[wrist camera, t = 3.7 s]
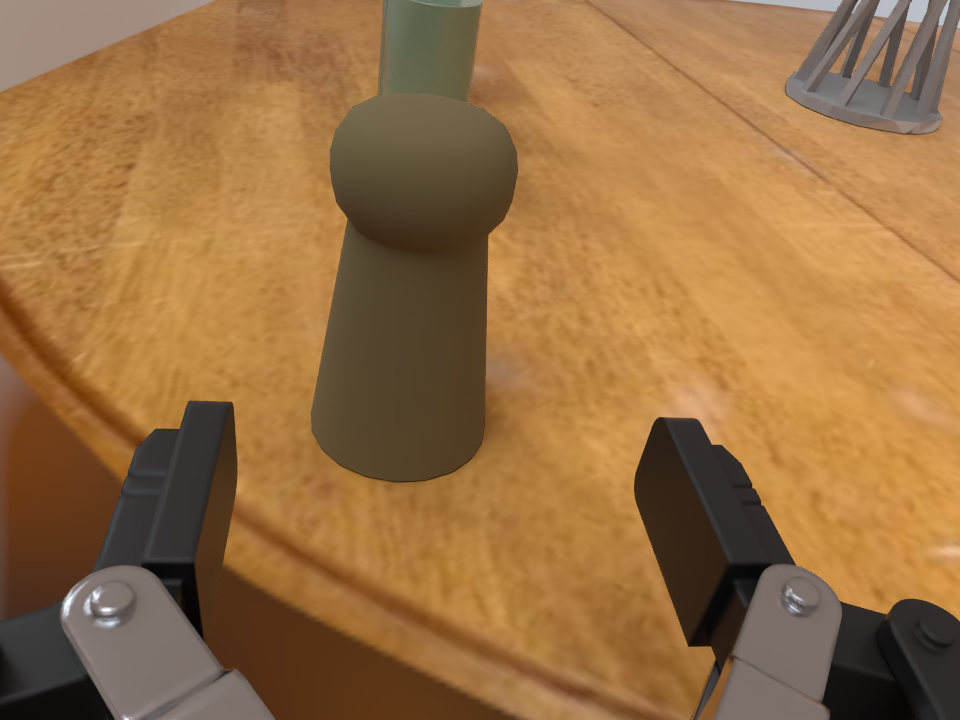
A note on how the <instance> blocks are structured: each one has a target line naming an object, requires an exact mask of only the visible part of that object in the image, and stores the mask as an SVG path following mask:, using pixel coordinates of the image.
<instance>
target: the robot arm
mask: <svg viewBox="0 0 960 720" xmlns="http://www.w3.org/2000/svg"><path fill="white" fill-rule="evenodd" d="M236 485H237V451H236V436H235V420H234V407H233V403H232V402H218V401H189V402H188V404H187V406H186V409H185V413H184V416H183V420H182V423H181V426H180V429H155V430H154V431H153V432H152V433H151V434H150V435H149V436H148V437H147V438H146V439H145V440H144V441H143V442H142V443H141V444H140V445H139V446H138V447H137V448H136V450H135V453H134V456H133V459H132V461H131V464H130V467H129V470H128V476H127V477H126V479H125V481H124V484H123V487H122V490H121V496H119V499H118V501H117V505H116V507H115V510H114V513H113V516H112V519H111V522H110V524H109V527H108V530H107V533H106V536H105V539H104V541H103V544H102V547H101V550H100V553H99V556H98V559H97V561H96V564H95V567H94V569H93V571H92V573H91V574H90V575H89V576H87V577H85V578H84V579H83V580H81V581H80V582H79V583H77V584H76V585H75V586H74V587H73V588H72V589H71V591H70V592H69V593H68V595H67V596H66V598H65V599H63V600H61V601H60V602H58V603H56V604H54V605H51V606H49V607H47V608H44V609H41V610H38V611H35V612H31V613H27V614H24V615H20V616H16V617H12V618H9V619H5V620H1V621H0V720H275V718H274V717H273V716H272V714H271V713H270V711H269V710H268V709H267V707H266V706H265V705H264V703H263V702H262V700H261V699H260V698H259V696H258V695H257V694H256V693H255V691H254V689H253V688H252V687H251V685H250V684H249V683H248V682H247V680H246V679H245V677H244V676H243V675H242V674H241V673H240V672H239V671H238V670H236V669H235V668H233V667H230V668H228V669H225V668H223V667H222V666H221V665H220V663H219V662H218V661H217V659H216V658H215V657H214V655H213V654H212V652H211V651H210V650H209V648H208V647H207V642H208V637H209V632H210V627H211V622H212V616H213V611H214V606H215V601H216V595H217V590H218V585H219V580H220V574H221V569H222V564H223V558H224V553H225V548H226V543H227V537H228V532H229V527H230V521H231V516H232V511H233V506H234V500H235V494H236ZM634 493H635V500H636V504H637V507H638V509H639V512H640V515H641V518H642V520H643V523H644V526H645V529H646V531H647V534H648V537H649V540H650V542H651V545H652V548H653V551H654V553H655V556H656V559H657V562H658V564H659V567H660V570H661V572H662V575H663V578H664V581H665V583H666V586H667V589H668V592H669V594H670V597H671V600H672V603H673V605H674V608H675V611H676V614H677V616H678V619H679V622H680V625H681V627H682V630H683V633H684V636H685V638H686V641H687V644H688V647H699V646H711V647H712V650H713V652H714V655H715V657H716V658H715V660H714V662H713V664H712V666H711V667H710V670H709V672H708V675H707V678H706V680H705V683H704V685H703V688H702V691H701V693H700V696H699V698H698V701H697V703H696V706H695V709H694V711H693V714H692V716H691V719H690V720H960V621H959V620H958V619H956V618H955V617H954V616H953V615H951V614H950V613H949V612H947V611H946V610H944V609H942V608H941V607H939V606H937V605H934V604H932V603H929V602H927V601H923V600H918V599H905V600H901V601H899V602H897V603H896V604H895V605H894V606H893V607H892V609H891V610H890V611H889V613H888V614H887V615H886V614H882V613H879V612H875V611H872V610H868V609H864V608H861V607H857V606H854V605H850V604H847V603H844V602H841V601H839V599H838V597H837V595H836V594H835V593H834V591H833V590H832V589H831V587H830V586H829V585H828V584H827V583H826V582H825V581H823V580H822V579H821V578H820V577H818V576H817V575H815V574H814V573H812V572H810V571H808V570H806V569H804V568H801V567H798V566H796V564H795V563H794V561H793V559H792V557H791V555H790V553H789V551H788V550H787V548H786V546H785V544H784V542H783V540H782V538H781V537H780V535H779V533H778V531H777V529H776V527H775V525H774V524H773V522H772V520H771V518H770V516H769V514H768V512H767V511H766V509H765V507H764V506H762V505H761V499H760V498H759V496H758V494H757V492H756V490H755V489H753V488H752V483H751V481H750V479H749V477H748V475H747V473H746V472H745V470H744V468H743V466H742V464H741V463H740V462H739V461H738V460H737V459H736V458H735V457H734V456H733V455H732V454H731V453H729V452H728V451H727V450H726V449H725V448H724V447H723V446H722V445H712V444H711V442H710V440H709V438H708V436H707V435H706V433H705V431H704V429H703V427H702V425H701V423H700V422H699V421H698V420H697V419H695V418H668V417H659V418H657V419H656V420H655V422H654V424H653V426H652V429H651V432H650V434H649V437H648V440H647V443H646V445H645V448H644V451H643V454H642V457H641V459H640V462H639V465H638V468H637V471H636V474H635V481H634Z"/></svg>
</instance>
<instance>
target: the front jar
mask: <svg viewBox="0 0 960 720" xmlns="http://www.w3.org/2000/svg"><path fill="white" fill-rule="evenodd" d="M482 3H483V2H482V0H388V10H387V26H386V41H385V56H384V72H383V87H382V95H386V94H391V93H421V94H432V95H438V96H443V97H449V98H453V99H456V100H460V101H463V102H467V103H469V102H470V94H471V86H472V79H473V71H474V64H475V56H476V49H477V41H478V34H479V26H480V18H481V11H482Z"/></svg>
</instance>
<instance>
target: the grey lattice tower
mask: <svg viewBox="0 0 960 720" xmlns="http://www.w3.org/2000/svg"><path fill="white" fill-rule="evenodd" d="M857 1H858V0H843V1H842V3H841V4H840V6H839V7H838V9H837V11H836V12H835V13H834V15H833V17H832V18H831V20H830V21H829V23H828V24H827V26H826V28H825V29H824V31H823V32H822V34H821V35H820V37H819V39H818V40H817V42H816V43H815V45H814V46H813V48H812V49H811V51H810V53H809V54H808V56H807V57H806V59H805V60H804V62H803V64H802V65H801V67H800V68H799V70H798V71H797V72H794V73H793V74H792V75H791V76H790V77H789V78H788V79H787V82H786V95H788V96H789V97H791V98H792V99H794V100H795V101H797V102H798V103H799V104H801V105H803V106H805V107H807V108H810V109H812V110H814V111H817V112H819V113H821V114H823V115H826V116H828V117H832V118H835V119H838V120H841V121H845V122H848V123H851V124H854V125H858V126H863V127H869V128H874V129H880V130H885V131H891V132H896V133H902V134H906V133H911V134H922V133H929V132H934V131H935V129H937V128H938V126H939V124H940V122H941V120H942V116H941V114H940V113H939V111H938V110H937V109H938V105H939V100H940V96H941V92H942V87H943V83H944V78H945V74H946V70H947V65H948V61H949V56H950V52H951V48H952V43H953V39H954V34H955V31H956V28H957V25H958V22H959V19H960V0H950V3H949V8H948V12H947V15H946V18H945V21H944V24H943V27H942V30H941V33H940V36H939V40H938V43H937V46H936V49H935V52H934V55H933V58H932V61H931V57H932V52H933V47H934V42H935V37H936V32H937V28H938V23H939V17H940V15H941V13H942V11H943V9H944V7H945V5H946V3H947V0H929V3H928V9H927V12H926V15H925V17H924V19H923V21H922V23H921V25H920V27H919V29H918V31H917V34H916V36H915V38H914V40H913V42H912V44H911V46H910V48H909V51H908V53H907V55H906V57H905V59H904V61H903V63H902V66H901V68H900V70H899V72H898V74H897V76H896V78H895V80H894V83H893V85H892V86H889V83H890V79H891V75H892V72H893V68H894V64H895V60H896V56H897V52H898V48H899V44H900V40H901V36H902V33H903V29H904V25H905V21H906V17H907V12H908V9H909V5H910V3H911V1H912V0H899V1H898V3H897V5H896V6H895V8H894V9H893V11H892V13H891V15H890V16H889V17H888V19H887V21H886V22H885V24H884V26H883V27H882V29H881V30H880V32H879V34H878V35H877V37H876V39H875V40H874V42H873V43H872V45H871V47H870V48H869V50H868V51H867V53H866V55H865V56H864V58H863V60H862V61H861V63H860V64H859V66H858V68H857V69H856V71H855V73H854V74H853V76H851V74H852V71H853V68H854V66H855V63H856V61H857V58H858V55H859V53H860V50H861V48H862V45H863V42H864V40H865V37H866V35H867V32H868V29H869V27H870V24H871V22H872V19H873V16H874V14H875V11H876V9H877V6H878V3H879V1H880V0H862V1H861V2H860V4H859V5H858V7H857V8H856V10H855V11H854V13H853V14H852V15H851V17H850V18H849V16H850V14H851V13H852V11H853V9H854V7H855V5H856V3H857ZM848 18H849V20H848ZM847 20H848V21H847ZM846 22H847V23H846ZM853 35H854V36H853ZM890 35H891V36H890ZM852 37H853V39H852V42H851V45H850V47H849V50H848V53H847V55H846V58H845V61H844V64H843V66H842V69H841V72H840V74H839V73H831V72H828V71H829V70H830V69H831V67H832V66H833V64H834V63H835V61H836V60H837V58H838V57H839V55H840V54H841V53H842V51H843V50H844V48H845V47H846V45H847V44H848V42H849V41H850V40H851V38H852ZM889 37H890V40H889V44H888V48H887V52H886V56H885V60H884V64H883V68H882V72H881V75H880V79H879V83H878V82H874V81H871V80H867V79H864V77H865V76H866V74H867V72H868V71H869V69H870V68H871V66H872V64H873V63H874V61H875V59H876V58H877V56H878V55H879V53H880V51H881V50H882V48H883V46H884V45H885V43H886V42H887V40H888V38H889ZM930 62H931V64H930ZM915 67H916V70H915V76H914V81H913V86H912V91H911V94H910V93H907V92H905V91H904V90H905V88H906V86H907V84H908V82H909V80H910V78H911V76H912V74H913V71H914V69H915ZM929 67H930V68H929Z"/></svg>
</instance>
